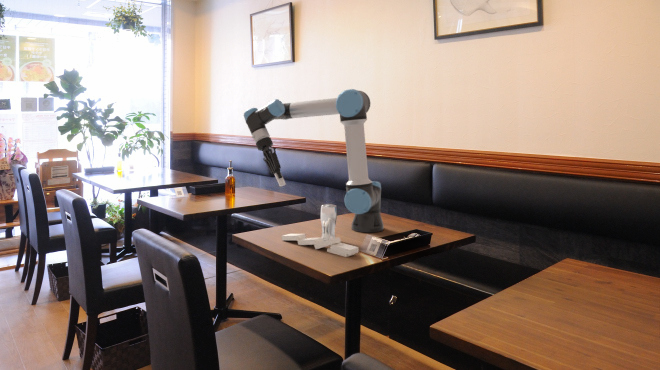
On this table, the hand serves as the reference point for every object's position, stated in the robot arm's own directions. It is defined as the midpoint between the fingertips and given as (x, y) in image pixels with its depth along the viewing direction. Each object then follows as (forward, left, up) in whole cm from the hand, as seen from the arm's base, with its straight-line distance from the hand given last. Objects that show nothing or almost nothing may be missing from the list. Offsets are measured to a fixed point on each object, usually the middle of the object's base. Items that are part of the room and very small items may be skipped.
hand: (282, 185), depth 223 cm
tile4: (-30, +29, -19) cm, 46 cm away
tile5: (-29, +27, -21) cm, 45 cm away
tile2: (-15, +21, -20) cm, 32 cm away
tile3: (-23, +25, -20) cm, 40 cm away
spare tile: (-6, +15, -20) cm, 26 cm away
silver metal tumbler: (-24, +11, -21) cm, 34 cm away
